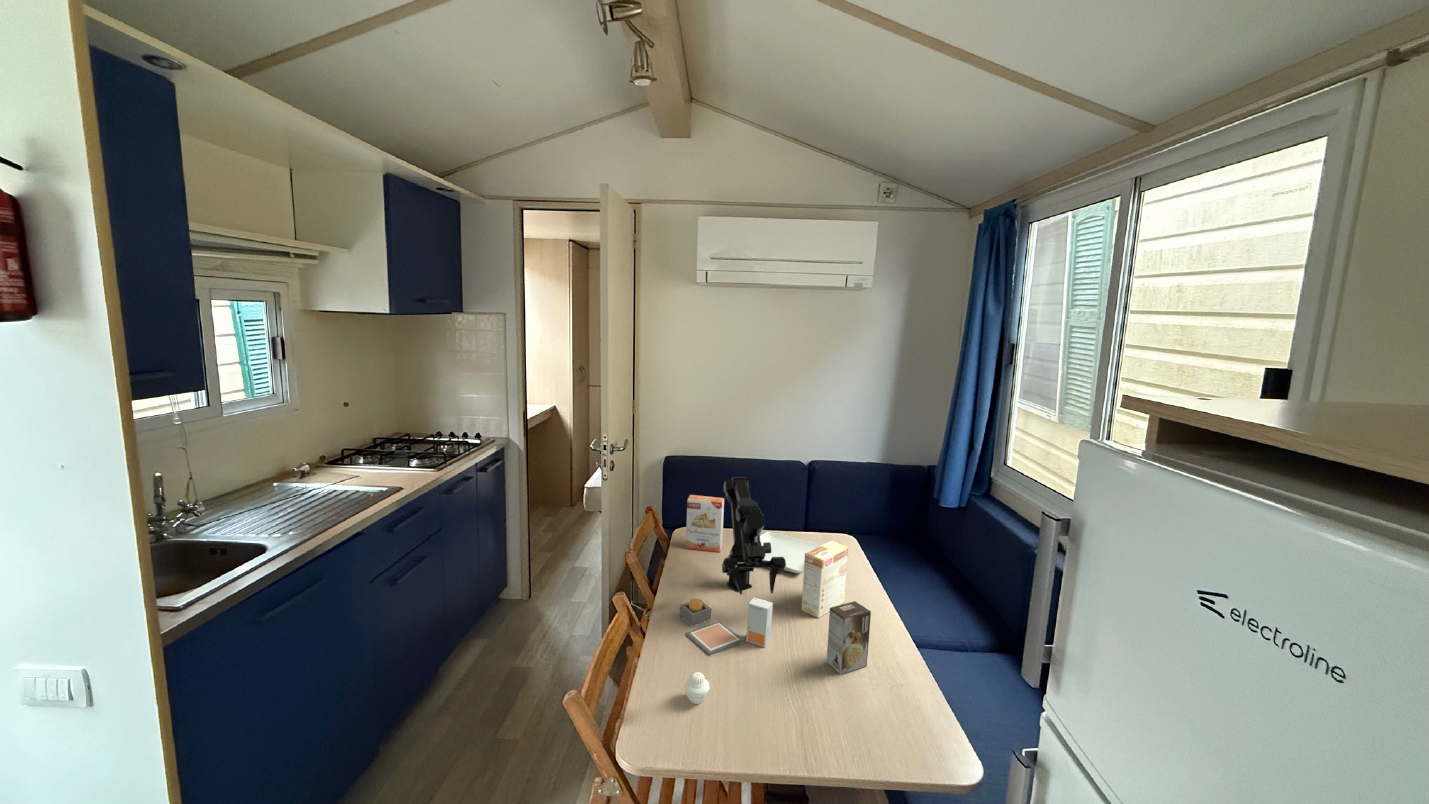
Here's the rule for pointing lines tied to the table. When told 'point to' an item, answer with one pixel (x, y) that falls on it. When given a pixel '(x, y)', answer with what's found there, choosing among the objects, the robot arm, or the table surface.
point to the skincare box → (759, 622)
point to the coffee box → (848, 637)
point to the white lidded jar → (696, 688)
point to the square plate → (788, 550)
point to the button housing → (695, 614)
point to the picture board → (714, 637)
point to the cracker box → (704, 523)
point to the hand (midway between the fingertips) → (756, 593)
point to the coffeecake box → (824, 578)
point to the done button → (695, 605)
